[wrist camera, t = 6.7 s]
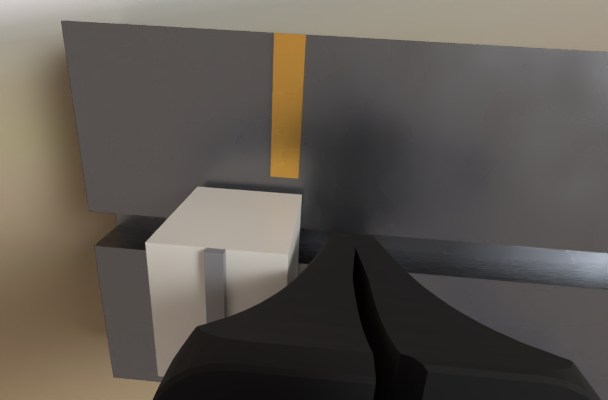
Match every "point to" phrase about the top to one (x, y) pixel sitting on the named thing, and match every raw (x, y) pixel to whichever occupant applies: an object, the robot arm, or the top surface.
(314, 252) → the fader console
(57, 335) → the top surface
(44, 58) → the top surface
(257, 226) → the fader tab
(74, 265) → the top surface
